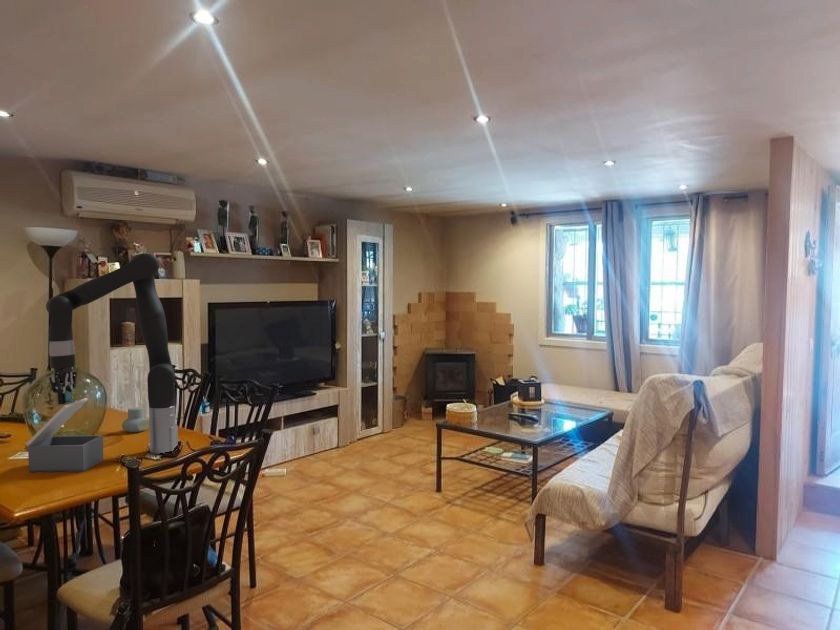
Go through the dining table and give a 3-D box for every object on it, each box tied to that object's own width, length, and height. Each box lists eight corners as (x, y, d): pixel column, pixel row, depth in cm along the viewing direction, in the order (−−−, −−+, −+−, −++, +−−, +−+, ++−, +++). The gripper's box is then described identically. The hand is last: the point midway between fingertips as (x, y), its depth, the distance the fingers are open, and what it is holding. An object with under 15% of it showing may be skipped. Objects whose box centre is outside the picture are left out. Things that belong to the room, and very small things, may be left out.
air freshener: (136, 427, 266) (136, 405, 266) (152, 428, 264) (152, 406, 264) (118, 433, 256) (118, 410, 255) (135, 434, 254) (134, 411, 253)
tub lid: (89, 397, 215) (76, 385, 215) (68, 405, 201) (53, 392, 200) (51, 435, 215) (38, 423, 215) (27, 446, 201) (13, 432, 200)
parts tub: (103, 459, 216) (102, 435, 216) (83, 471, 202) (82, 445, 202) (52, 460, 215) (51, 436, 215) (28, 472, 201) (28, 446, 201)
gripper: (62, 355, 200) (65, 406, 201) (83, 351, 214) (86, 398, 215) (39, 356, 200) (42, 407, 201) (62, 351, 214) (65, 399, 215)
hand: (65, 402), depth 208 cm, fingers closed on tub lid, 3 cm apart
